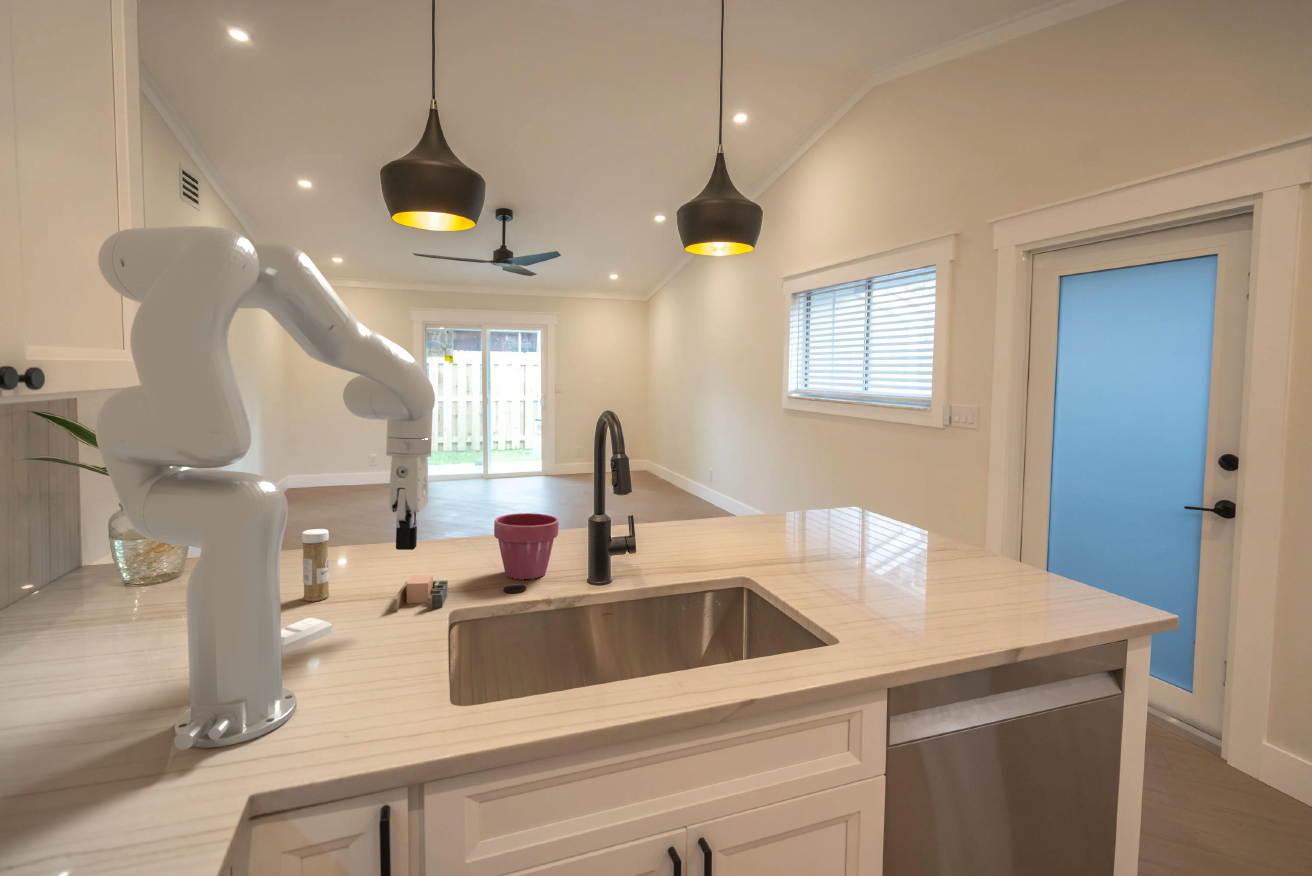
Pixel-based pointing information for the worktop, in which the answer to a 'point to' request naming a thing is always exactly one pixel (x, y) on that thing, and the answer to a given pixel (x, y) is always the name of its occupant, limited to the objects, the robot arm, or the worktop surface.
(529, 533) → the plant pot
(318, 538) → the sprinkles bottle
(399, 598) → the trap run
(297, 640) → the white flat block
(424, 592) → the block
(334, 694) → the worktop surface
